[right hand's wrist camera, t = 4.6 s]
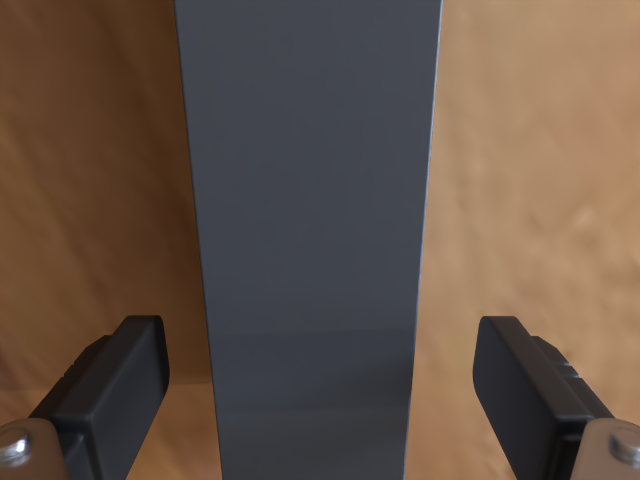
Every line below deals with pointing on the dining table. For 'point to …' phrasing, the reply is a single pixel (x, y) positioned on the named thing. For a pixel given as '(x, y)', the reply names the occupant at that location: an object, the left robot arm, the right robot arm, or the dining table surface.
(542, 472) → the right robot arm
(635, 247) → the dining table surface
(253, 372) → the bar
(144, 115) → the dining table surface
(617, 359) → the dining table surface
